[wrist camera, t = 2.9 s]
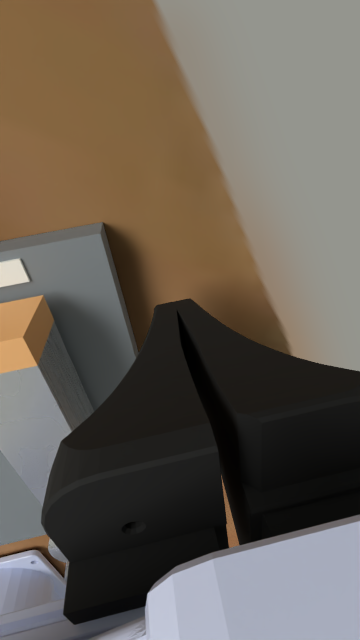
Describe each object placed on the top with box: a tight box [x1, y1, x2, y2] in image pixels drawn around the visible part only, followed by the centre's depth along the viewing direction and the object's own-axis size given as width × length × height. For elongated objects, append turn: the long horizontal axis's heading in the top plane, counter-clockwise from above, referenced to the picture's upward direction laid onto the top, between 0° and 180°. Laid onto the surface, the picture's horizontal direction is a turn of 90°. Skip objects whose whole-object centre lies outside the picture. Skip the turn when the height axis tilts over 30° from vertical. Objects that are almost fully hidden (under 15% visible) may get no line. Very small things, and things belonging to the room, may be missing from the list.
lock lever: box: [0, 295, 94, 563], centre depth 12 cm, size 12×4×3 cm, turn 8°
